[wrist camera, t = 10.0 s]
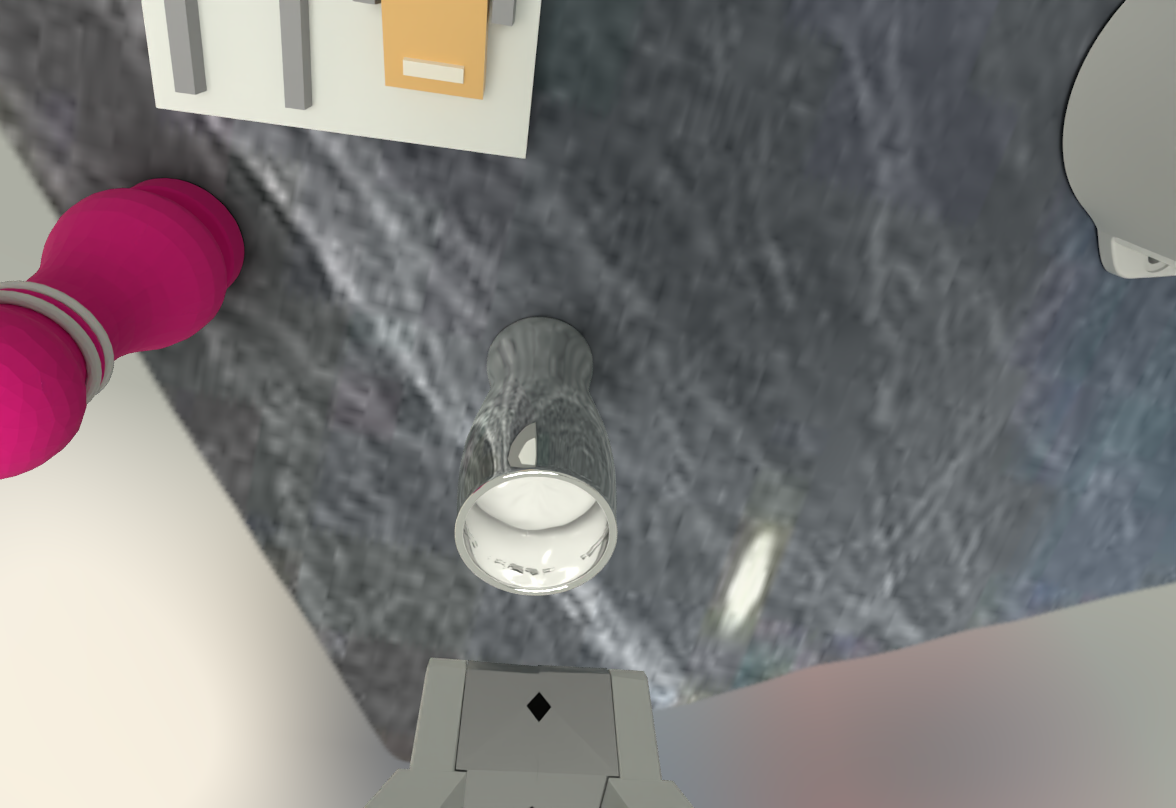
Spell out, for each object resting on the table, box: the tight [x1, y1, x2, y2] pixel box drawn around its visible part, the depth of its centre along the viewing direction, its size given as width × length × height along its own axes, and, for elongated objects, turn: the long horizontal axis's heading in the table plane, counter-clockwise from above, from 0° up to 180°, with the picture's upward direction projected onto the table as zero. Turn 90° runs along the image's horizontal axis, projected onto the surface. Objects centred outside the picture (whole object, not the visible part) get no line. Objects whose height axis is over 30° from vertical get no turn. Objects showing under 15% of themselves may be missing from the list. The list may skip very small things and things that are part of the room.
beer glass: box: [455, 317, 618, 595], centre depth 36 cm, size 7×7×15 cm
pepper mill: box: [0, 178, 244, 479], centre depth 30 cm, size 7×7×20 cm
